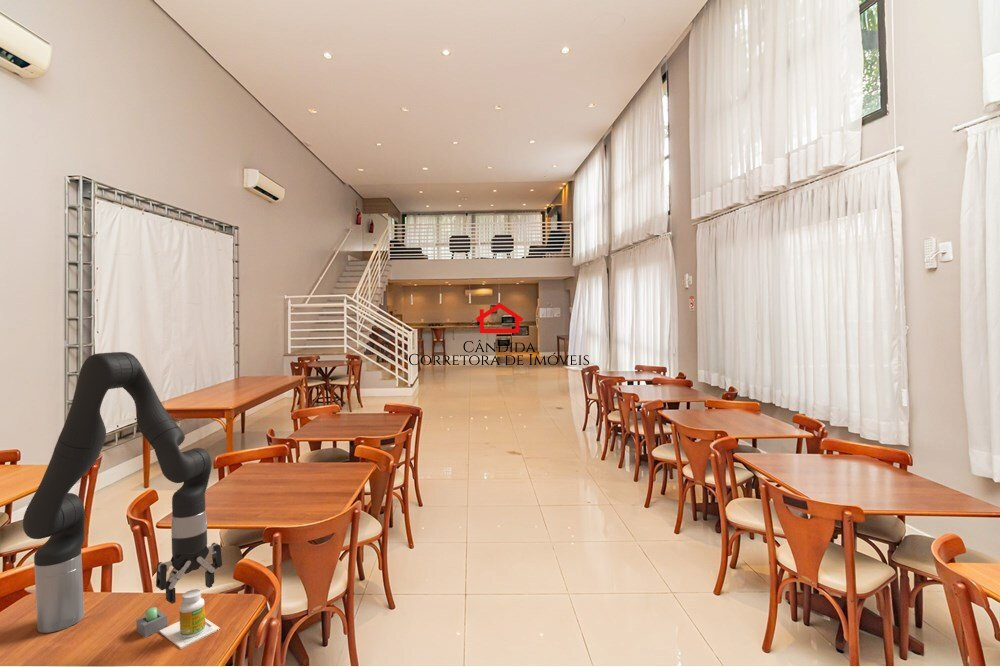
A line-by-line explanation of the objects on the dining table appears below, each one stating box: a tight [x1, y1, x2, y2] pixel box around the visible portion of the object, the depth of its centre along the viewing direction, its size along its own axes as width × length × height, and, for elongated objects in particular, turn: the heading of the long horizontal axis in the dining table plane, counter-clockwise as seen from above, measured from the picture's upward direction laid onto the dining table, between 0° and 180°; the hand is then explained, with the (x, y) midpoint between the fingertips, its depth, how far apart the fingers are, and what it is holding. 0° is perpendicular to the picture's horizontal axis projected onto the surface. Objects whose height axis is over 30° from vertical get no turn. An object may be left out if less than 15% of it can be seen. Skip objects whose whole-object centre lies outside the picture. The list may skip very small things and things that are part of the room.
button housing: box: [135, 609, 168, 638], centre depth 126 cm, size 5×5×3 cm
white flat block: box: [158, 617, 221, 650], centre depth 125 cm, size 12×9×1 cm
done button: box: [145, 606, 158, 623], centre depth 126 cm, size 2×2×3 cm
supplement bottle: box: [178, 588, 206, 638], centre depth 124 cm, size 5×5×10 cm
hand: (190, 594), depth 124 cm, fingers open, 8 cm apart
